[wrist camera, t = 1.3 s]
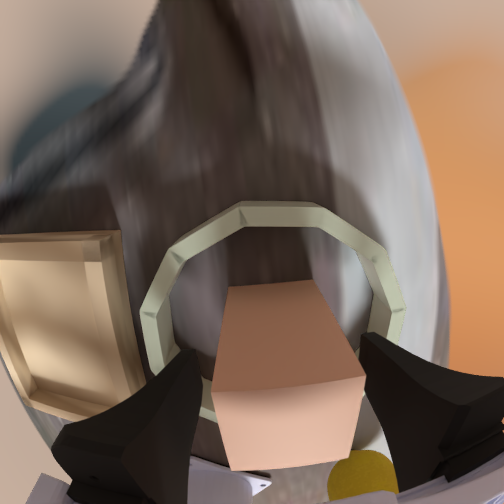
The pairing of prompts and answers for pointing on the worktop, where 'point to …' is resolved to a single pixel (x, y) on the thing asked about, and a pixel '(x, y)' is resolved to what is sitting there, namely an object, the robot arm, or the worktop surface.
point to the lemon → (361, 475)
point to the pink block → (284, 379)
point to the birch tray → (68, 322)
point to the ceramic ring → (273, 215)
